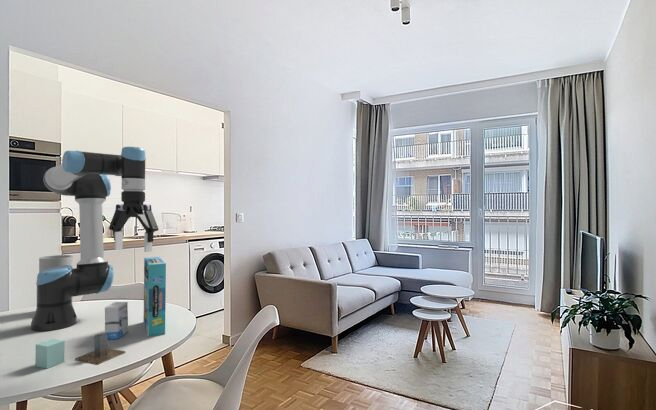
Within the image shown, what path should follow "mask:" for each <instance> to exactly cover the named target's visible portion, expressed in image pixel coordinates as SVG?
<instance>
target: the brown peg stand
mask: <svg viewBox="0 0 656 410" xmlns="http://www.w3.org/2000/svg"><path fill="white" fill-rule="evenodd" d="M93 339H94V342H93V343H94V345H93V347H94V348H93V349H94V351H91V352H88V353H86V354H83V355H81V356H77V357H74V360H75V361H80V362H85V363H90V364H94V365H101V364H102V363H104V362H106V361H109V360H111V359H114V358H116V357H119V356H121V355H124V354H125V353H127V352H126V351H125V350H121V349H114V348H110V347H108V340H109V339H108V334H106V333H105V332H100V333H97V334H95V335H94V338H93Z"/></svg>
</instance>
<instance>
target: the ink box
mask: <svg viewBox="0 0 656 410" xmlns="http://www.w3.org/2000/svg"><path fill="white" fill-rule="evenodd" d="M128 306H129V305H128V301H114V302H112V303H111V304H109V305H107V306H105V307H104V333H106V334H108V340H119V339H120V338H122V337H123V336H124V335H125V334H127V333H128V332H129V315H128V314H129V313H128V312H129V311H128V308H129V307H128Z"/></svg>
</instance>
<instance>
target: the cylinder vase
mask: <svg viewBox="0 0 656 410" xmlns="http://www.w3.org/2000/svg"><path fill="white" fill-rule="evenodd" d="M66 265H69V266H72V268H73V267H74V266H73V255H71V254H57V255H56V254H55V255H46V256H41V257H39V259H38V273H39V272H41V271H42V270H45V269H48V268H53V267H58V266H66ZM73 269H74V268H73Z"/></svg>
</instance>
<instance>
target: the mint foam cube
mask: <svg viewBox="0 0 656 410" xmlns="http://www.w3.org/2000/svg"><path fill="white" fill-rule="evenodd" d="M62 363H65V340H62V339H56V338H51V339H47V340H45V341H42V342H39V343H36V344H35V364H34V365H35V367H38V368H43V369H50V368H52V367H55V366H57V365H61V364H62Z"/></svg>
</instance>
